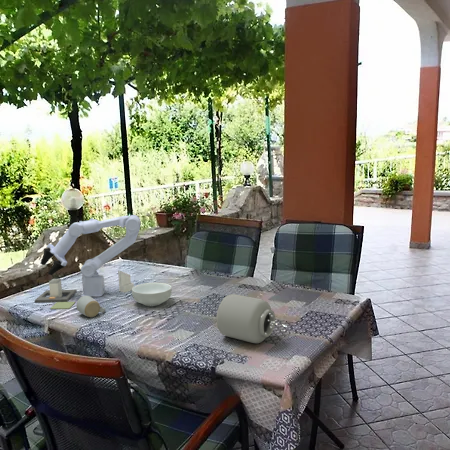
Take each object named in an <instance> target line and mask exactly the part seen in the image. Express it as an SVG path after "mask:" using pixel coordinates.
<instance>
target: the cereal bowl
mask: <svg viewBox="0 0 450 450" xmlns="http://www.w3.org/2000/svg"><path fill="white" fill-rule="evenodd" d="M172 290H173V289H172V286H171V285H170V284H168V283H166V282H146V283H145V282H144V283H141V284H137V285H134V287H133V288H132V290H131V293H132V294H131V295H132V298H133V299H134V301H135V302H137V303H139V304H142V305H143V306H146V307H157V306H159V305H161V304H162V303H165V302H167V301H168V300H169V299H170V297H171V295H172Z"/></svg>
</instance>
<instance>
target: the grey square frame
mask: <svg viewBox="0 0 450 450" xmlns="http://www.w3.org/2000/svg"><path fill="white" fill-rule="evenodd" d="M77 292H78V291H77V289H62V296H61V297H50V289H48V290H47V289H46V290H45V291H44V292H42V294H39V296H38V297H36V298H35V299H34V303H35V304H38V303H41V304H43V303H46V304H47V303H56V302H69V300H70V299H72V298H73V297H74V295H75V294H77Z"/></svg>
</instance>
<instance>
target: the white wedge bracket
mask: <svg viewBox="0 0 450 450" xmlns="http://www.w3.org/2000/svg"><path fill="white" fill-rule="evenodd" d="M117 274H118V286H119V287H118V291H119V292H121V293H124V294H125V293H128V292H132V288H133V287H134V286H135V283H134V282H132V281H131V278H132V277H131V274H128V272H127V273H126V272H124V271H121V270H118V272H117Z"/></svg>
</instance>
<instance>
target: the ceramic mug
mask: <svg viewBox="0 0 450 450" xmlns="http://www.w3.org/2000/svg"><path fill="white" fill-rule="evenodd" d="M75 306H76V310H77V311H78V313H80V314H81V315H84V316H85V317H88V318H95V317H96V316H97V315H98V314H99V313H101V314H102V313H105V312H106V308H104V307H103V306H101V305H100V303H99V302H98V301H97V300H96V299H94V298H93V297H90V296H82V297H79V299H78V300H77V301H76V305H75Z"/></svg>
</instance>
